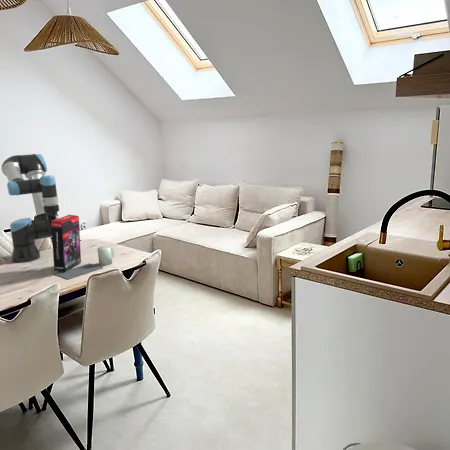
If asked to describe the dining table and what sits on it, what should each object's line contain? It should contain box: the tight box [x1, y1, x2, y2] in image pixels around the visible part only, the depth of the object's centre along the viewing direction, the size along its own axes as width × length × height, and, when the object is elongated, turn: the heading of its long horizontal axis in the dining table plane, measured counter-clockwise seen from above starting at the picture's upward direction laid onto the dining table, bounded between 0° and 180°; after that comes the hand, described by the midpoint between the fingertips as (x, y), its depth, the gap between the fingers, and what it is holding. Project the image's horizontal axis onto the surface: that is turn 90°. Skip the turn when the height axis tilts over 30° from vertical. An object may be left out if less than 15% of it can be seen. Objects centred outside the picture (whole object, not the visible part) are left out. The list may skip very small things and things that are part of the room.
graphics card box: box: [51, 214, 82, 272], centre depth 226 cm, size 17×7×27 cm, turn 169°
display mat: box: [54, 262, 104, 281], centre depth 223 cm, size 13×21×1 cm, turn 141°
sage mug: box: [96, 245, 115, 267], centre depth 234 cm, size 7×9×9 cm
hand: (57, 247), depth 232 cm, fingers closed
